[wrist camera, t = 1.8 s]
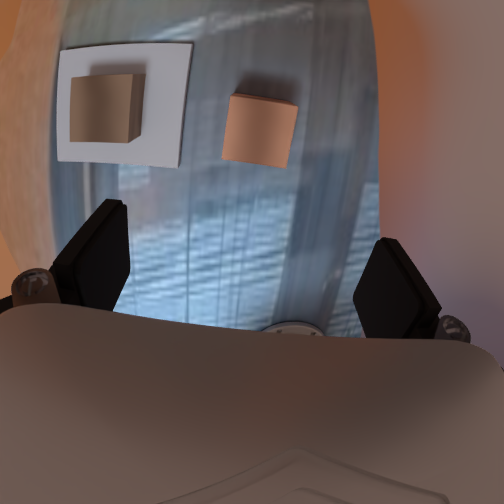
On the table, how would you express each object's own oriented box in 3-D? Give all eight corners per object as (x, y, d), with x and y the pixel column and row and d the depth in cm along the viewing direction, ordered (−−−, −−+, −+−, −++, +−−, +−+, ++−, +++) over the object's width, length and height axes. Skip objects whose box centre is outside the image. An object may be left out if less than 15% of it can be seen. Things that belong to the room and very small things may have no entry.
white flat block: (193, 44, 26) (183, 39, 22) (179, 165, 33) (169, 180, 29) (64, 51, 25) (41, 51, 20) (61, 158, 32) (40, 171, 28)
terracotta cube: (289, 101, 30) (298, 106, 25) (279, 153, 33) (285, 168, 28) (233, 92, 29) (230, 95, 24) (226, 145, 32) (221, 159, 27)
